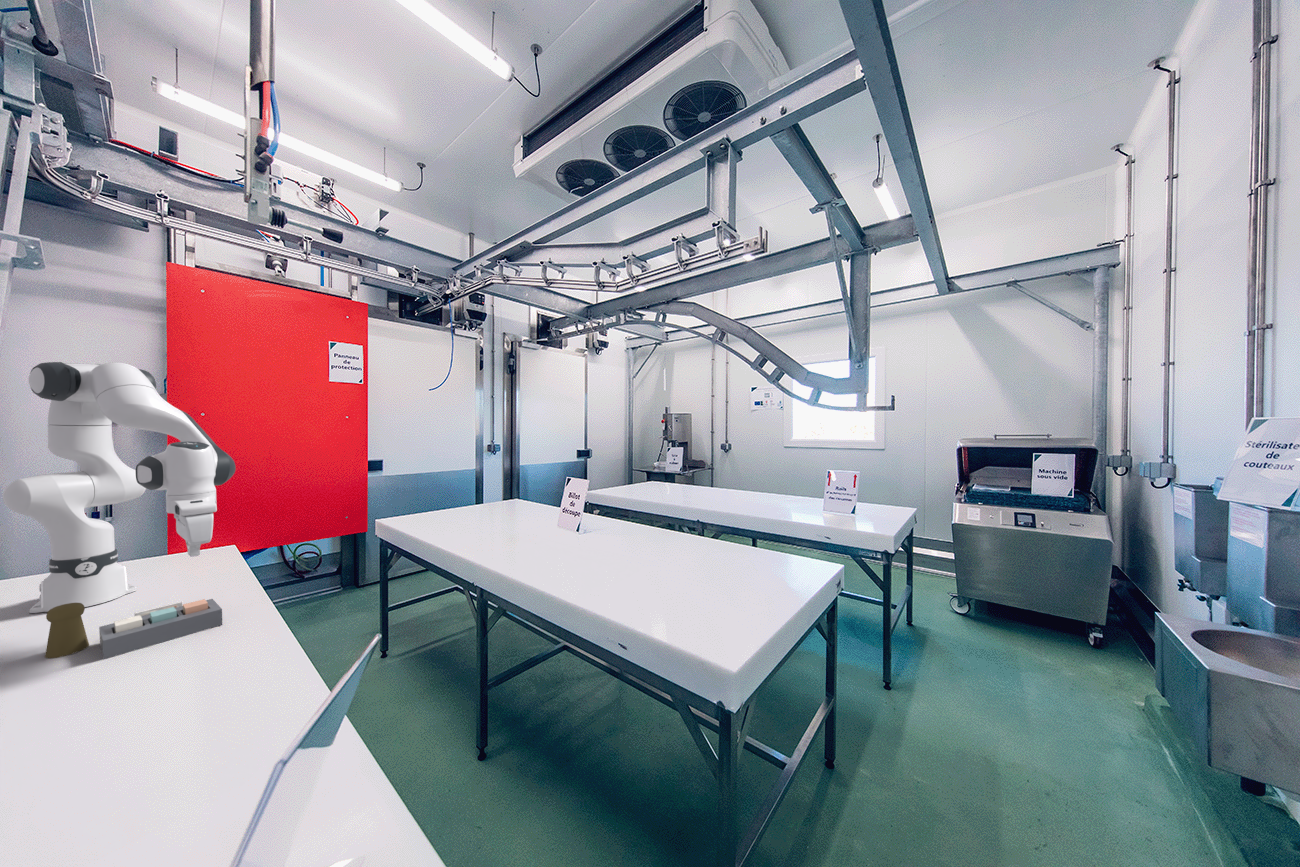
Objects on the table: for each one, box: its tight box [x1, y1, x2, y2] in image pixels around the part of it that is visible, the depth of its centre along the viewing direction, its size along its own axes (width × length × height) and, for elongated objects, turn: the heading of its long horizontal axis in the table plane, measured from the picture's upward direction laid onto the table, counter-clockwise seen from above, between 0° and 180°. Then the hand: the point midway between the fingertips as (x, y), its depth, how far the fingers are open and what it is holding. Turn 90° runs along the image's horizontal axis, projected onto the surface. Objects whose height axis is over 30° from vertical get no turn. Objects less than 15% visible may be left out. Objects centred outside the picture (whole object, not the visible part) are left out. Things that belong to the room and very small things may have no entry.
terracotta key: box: [182, 598, 208, 615], centre depth 109 cm, size 4×4×3 cm
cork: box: [44, 603, 90, 659], centre depth 96 cm, size 6×6×11 cm
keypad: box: [98, 598, 223, 660], centre depth 105 cm, size 13×19×5 cm
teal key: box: [150, 607, 177, 624], centre depth 104 cm, size 4×4×3 cm
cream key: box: [113, 615, 143, 633], centre depth 99 cm, size 4×4×3 cm
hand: (193, 555), depth 108 cm, fingers closed
